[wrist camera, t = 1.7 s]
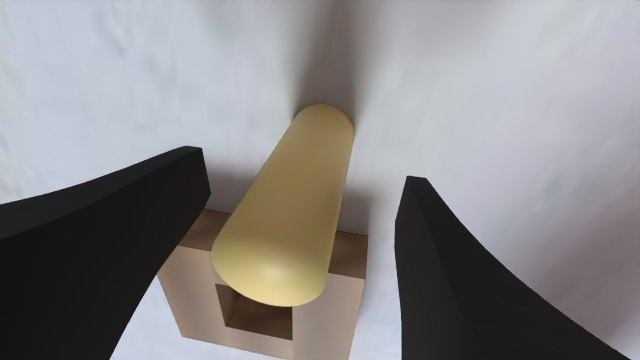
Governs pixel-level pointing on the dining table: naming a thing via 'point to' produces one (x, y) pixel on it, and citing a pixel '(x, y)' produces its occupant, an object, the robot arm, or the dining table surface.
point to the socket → (258, 318)
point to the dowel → (289, 213)
